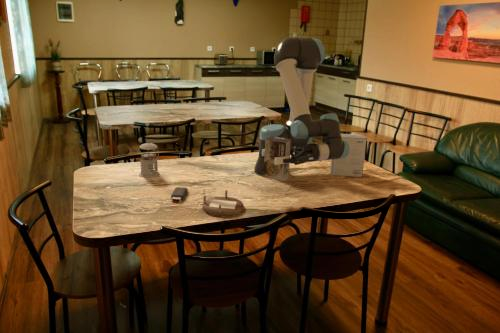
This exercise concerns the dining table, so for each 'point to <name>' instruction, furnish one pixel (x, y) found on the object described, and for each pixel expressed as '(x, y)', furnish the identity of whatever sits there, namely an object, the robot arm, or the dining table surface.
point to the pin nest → (222, 206)
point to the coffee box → (276, 149)
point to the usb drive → (179, 194)
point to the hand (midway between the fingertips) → (268, 156)
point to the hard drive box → (351, 157)
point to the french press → (149, 160)
